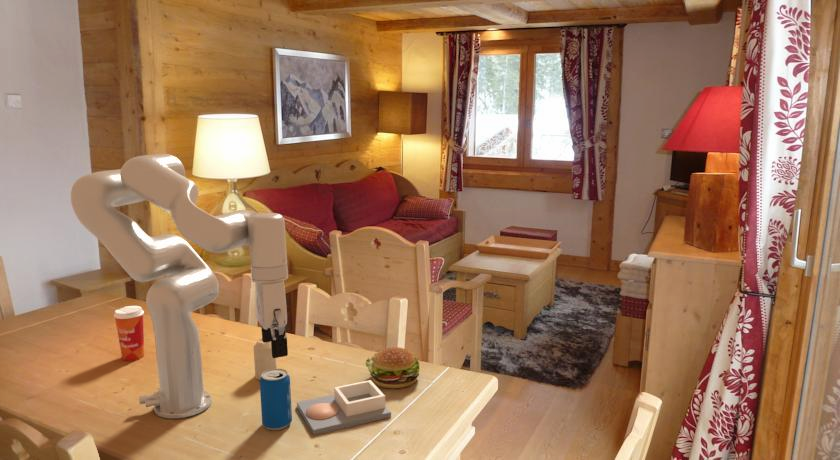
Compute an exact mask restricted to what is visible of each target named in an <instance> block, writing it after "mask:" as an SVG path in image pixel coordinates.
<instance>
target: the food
mask: <svg viewBox="0 0 840 460" xmlns="http://www.w3.org/2000/svg"><path fill="white" fill-rule="evenodd" d="M415 356H416V355H415V354H414V353H413V352H412V351H410V350H409V349H407V348H403V347H398V346H393V347H385V348H383V349H380V350H378V351H377V352H376V353H375V354H373V356H371V357H370V358H371V359H370V358H369V357H367V359H366V360H365V367H367V368H368V372H369V375H370V377H371V381H372V382H373V383H374V384H375V385H376V386H377V387H382V388H385V389H401V388H405V387H409V386H411V385H413V384H414V383H416V380H417V378H418V377H419V376H420V362H419V361H418V360H419V359H418V358H416V357H415Z"/></svg>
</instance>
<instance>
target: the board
mask: <svg viewBox="0 0 840 460" xmlns="http://www.w3.org/2000/svg"><path fill="white" fill-rule="evenodd" d="M333 391H334V393H333V394H330V395H325V396H320V397H314V398H311V399H306V400H301V401H297V402H296V408H297V409H298V411H299V413H300V414H301V416H302V418H303V420H304V421H305V423H306V424H307V427H308V428H309V430H310V431H311V433H312V434H313V436H317V435H320V434H325V433H329V432H334V431H338V430H341V429H347V428H350V427H354V426H359V425H364V424H366V423H371V422H376V421H379V420H384V419H388V418H391V417H392V412H391V410H390V409H389V408H388V407H387V406H386V395H385V394H384V393H383V392H382V391H381V390H380V388H379V386H378V385H376V384H375V383H374V382H373V381H372V379H370V380H369V379H368V380H363V381H360V382H355V383H350V384H349V383H348V384H344V385H340V386H339V385H338V386H334V387H333Z"/></svg>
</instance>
